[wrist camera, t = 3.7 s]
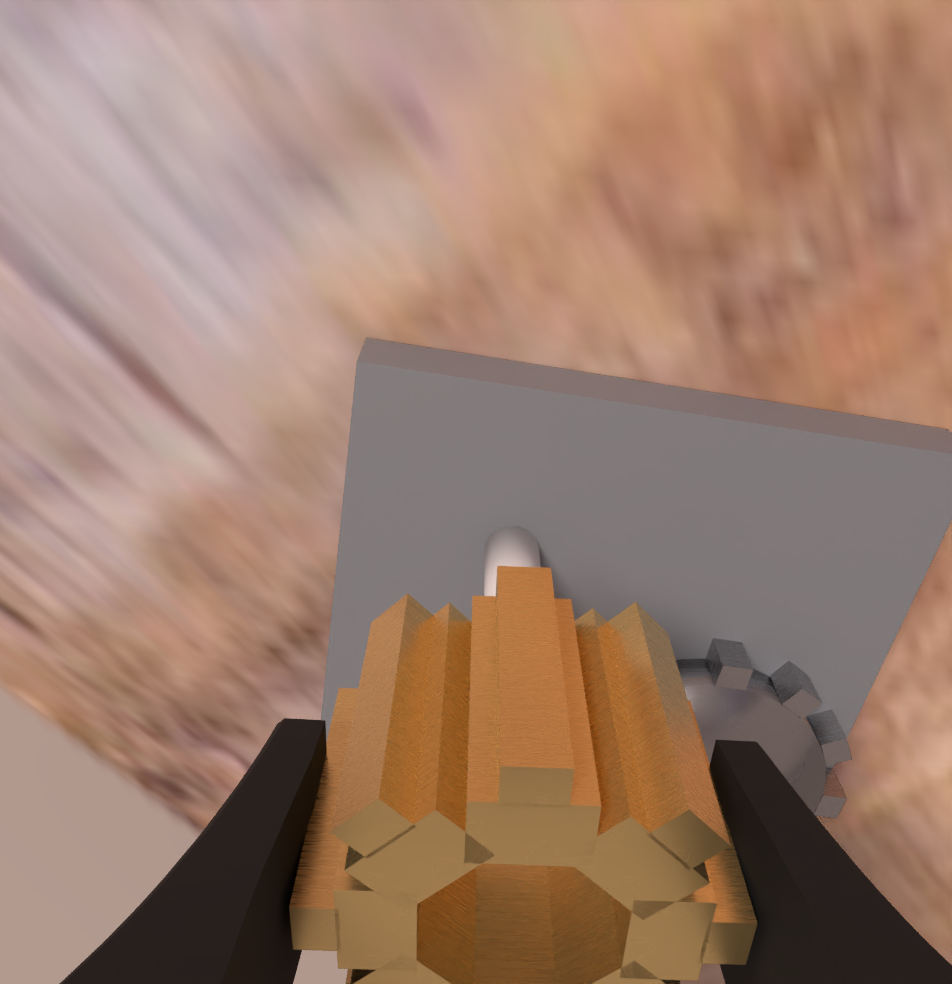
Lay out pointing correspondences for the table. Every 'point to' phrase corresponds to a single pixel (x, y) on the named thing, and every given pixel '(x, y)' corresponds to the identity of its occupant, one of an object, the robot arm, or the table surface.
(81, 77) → the table surface
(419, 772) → the brass gear
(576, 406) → the gear board
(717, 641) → the gear
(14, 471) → the table surface
